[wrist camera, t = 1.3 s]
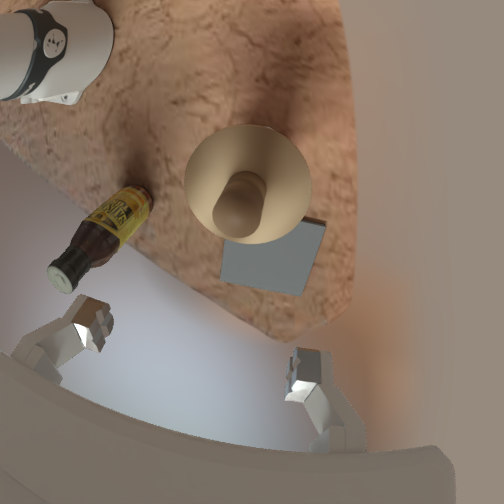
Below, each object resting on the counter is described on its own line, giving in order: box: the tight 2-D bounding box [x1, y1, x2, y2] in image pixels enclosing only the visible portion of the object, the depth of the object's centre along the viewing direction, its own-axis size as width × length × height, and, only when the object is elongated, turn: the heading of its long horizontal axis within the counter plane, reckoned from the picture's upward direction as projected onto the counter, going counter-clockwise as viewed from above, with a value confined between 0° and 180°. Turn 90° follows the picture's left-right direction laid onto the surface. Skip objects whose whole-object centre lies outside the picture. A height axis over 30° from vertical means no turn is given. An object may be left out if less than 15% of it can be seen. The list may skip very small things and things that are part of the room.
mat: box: [220, 220, 326, 296], centre depth 44 cm, size 14×14×1 cm
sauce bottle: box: [47, 185, 153, 294], centre depth 33 cm, size 6×6×20 cm
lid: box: [184, 124, 312, 244], centre depth 22 cm, size 11×11×6 cm
